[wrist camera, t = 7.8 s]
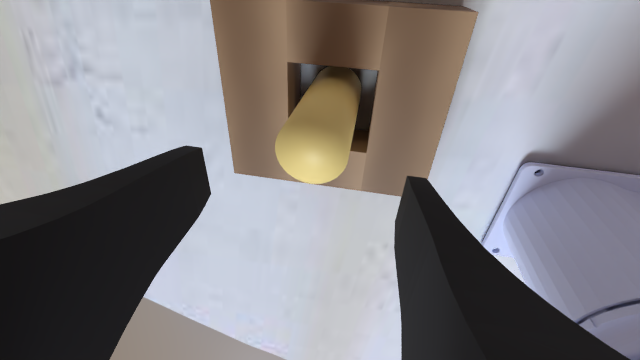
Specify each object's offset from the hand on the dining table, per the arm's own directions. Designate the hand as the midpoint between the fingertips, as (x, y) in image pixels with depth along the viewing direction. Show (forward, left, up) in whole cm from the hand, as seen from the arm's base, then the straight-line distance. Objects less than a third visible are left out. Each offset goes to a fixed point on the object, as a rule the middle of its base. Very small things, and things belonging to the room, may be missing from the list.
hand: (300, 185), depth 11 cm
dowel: (0, 0, -10) cm, 10 cm away
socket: (0, 0, -10) cm, 10 cm away
